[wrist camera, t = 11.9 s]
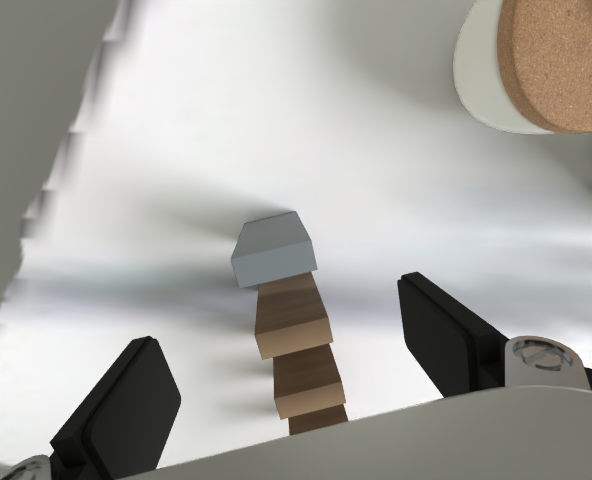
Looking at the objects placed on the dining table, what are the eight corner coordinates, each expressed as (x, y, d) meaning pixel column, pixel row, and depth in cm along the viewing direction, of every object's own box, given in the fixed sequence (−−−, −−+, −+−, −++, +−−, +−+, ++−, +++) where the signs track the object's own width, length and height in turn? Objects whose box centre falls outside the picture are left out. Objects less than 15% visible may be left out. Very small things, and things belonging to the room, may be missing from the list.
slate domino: (300, 230, 27) (317, 269, 17) (250, 242, 27) (239, 288, 17) (295, 211, 26) (310, 239, 17) (244, 223, 26) (230, 259, 17)
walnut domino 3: (330, 366, 32) (357, 455, 22) (288, 377, 32) (296, 471, 22) (327, 352, 31) (353, 437, 21) (284, 362, 31) (291, 453, 21)
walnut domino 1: (311, 281, 28) (333, 342, 19) (264, 292, 28) (262, 359, 19) (307, 263, 28) (328, 317, 18) (259, 275, 28) (254, 335, 18)
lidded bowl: (446, -36, 22) (610, -219, 11) (582, -4, 24) (838, -139, 13) (409, 131, 25) (510, 111, 15) (531, 150, 27) (701, 143, 16)
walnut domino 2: (321, 326, 30) (346, 402, 20) (277, 337, 30) (280, 419, 20) (318, 310, 29) (341, 381, 20) (272, 321, 29) (274, 398, 20)
